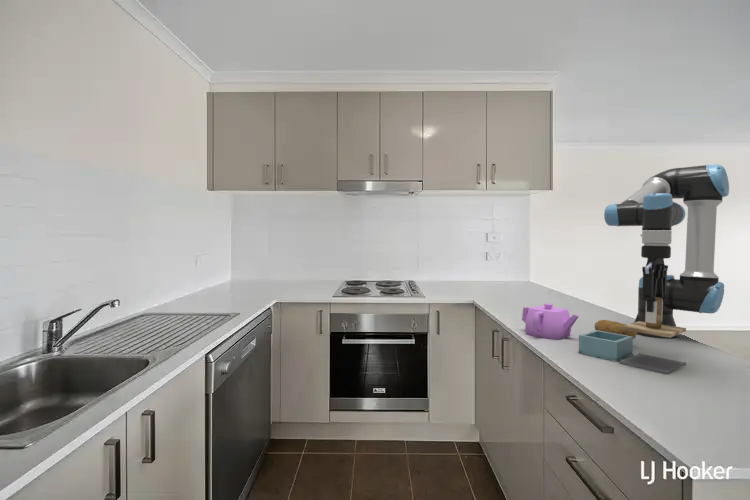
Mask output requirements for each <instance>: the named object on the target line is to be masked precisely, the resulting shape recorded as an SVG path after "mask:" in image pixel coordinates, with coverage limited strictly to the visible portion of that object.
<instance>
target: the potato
mask: <svg viewBox="0 0 750 500" xmlns="http://www.w3.org/2000/svg"><path fill="white" fill-rule="evenodd" d="M624 325H627V324H625V323H621V322H618V321H612V320H608V319H600V320H598V321H596V322H595V323H594V331H595V330H598V331H604V332H609V333H615V334H621V335H627V336H632V337H633V340H634V339H635V338H636V337H637V335H638V334H637V332H633V331H627V330H622V326H624Z"/></svg>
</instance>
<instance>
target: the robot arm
mask: <svg viewBox="0 0 750 500" xmlns="http://www.w3.org/2000/svg"><path fill="white" fill-rule="evenodd" d="M729 193H730V184H729V176H728V173H727V171H726V169H725V167H724V166H723V165H721V164H705V165H695V166H686V167H674V168H670V169H666V170H664V171H661V172H659V173H656V174H654V175H652V176H651V177H649V178H648V179H647V180H645V181H644V182H643V183H642V187H641V188H639V189H638V190H636V191H635V192H633V194H631V195H630V196H629V197H628V198H626V199H625V200H623V201H622V202H621V203H613V204H608V205H606V207H605V209H604V212H603V213H604V214H603V218H604V221H605V224H606V225H608V226H611V227H642V228H641V234H640V237H641V244H642V246H641V250H640V251H641V253H640V255H641V258H645V259H647V261H646V264H645V266H642V269H641V270H642V277H640V278H639V280H638V286H637V287H638V288H637V289H638V290H637V291H638V292H637V293H638V297H637V298H638V299H637V300H638V301H637V314H636V316H635V319H634V321H633V323H634V322H638V321H642V322H648V323H656V315H657V302H656V301H655V300H656V297H659V298H662V323H661V324H662V325H668V326H675V327H677V324H676V321H675V318H674V311H676V310H677V311H683V312H690V313H691V312H693V313H699V314H715V313H716V312H718V311H719V309H720V307H721V305H722V303H723V298H724V295H725V284H724V282H721V281H719V278H720V277H719V276H718V275H717V274H716V273H715V255H716V254H715V253H716V252H715V251H716V230H717V229H716V227H717V209H718V208H717V207H718V206H719V205H720V204H721V203H723V198H725V197H727V196H729ZM673 199H679V200H680V199H683V200H682V202H683V204H684V205H685V207H687V218H686V219H687V220H686V221H687V222H686V240H685V242H686V243H685V259H684V260H685V261H684V262H685V263H684V271H682V272H681V273H680V274H679V278H678V279H677V278H676V279H675V276H674V275H673V274H668V271H669V270H668V269H669V266H668V265H667V264H665V260H664V259H670V258H671V257H672V256H671V255H672V254H671V253H672V247H671V246H670V245H671V244H672V227H674V226H677V225H679V224H680V223H682V222H683V221H684V219H685V217H686V210H685V208H684V207H683V205H681V204H679V203H677V202H675V201H673ZM639 334H640V336H644V335H645V336H644V337H649V338H658V339H659V338H663V339H673V338H677V337H678V336H679V334H678V335H675V336H673V337H670V338H669V337H663V336H657V335H651V334H645V333H639V332H637V334H636V335H639Z"/></svg>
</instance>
